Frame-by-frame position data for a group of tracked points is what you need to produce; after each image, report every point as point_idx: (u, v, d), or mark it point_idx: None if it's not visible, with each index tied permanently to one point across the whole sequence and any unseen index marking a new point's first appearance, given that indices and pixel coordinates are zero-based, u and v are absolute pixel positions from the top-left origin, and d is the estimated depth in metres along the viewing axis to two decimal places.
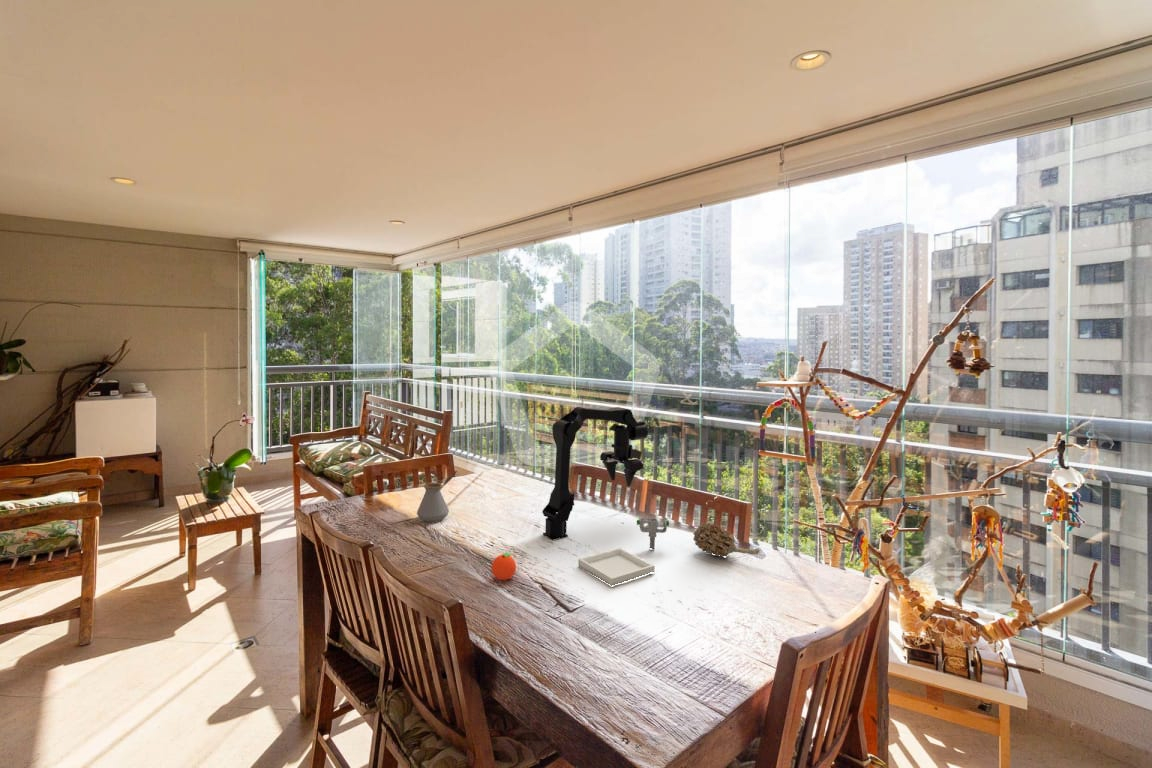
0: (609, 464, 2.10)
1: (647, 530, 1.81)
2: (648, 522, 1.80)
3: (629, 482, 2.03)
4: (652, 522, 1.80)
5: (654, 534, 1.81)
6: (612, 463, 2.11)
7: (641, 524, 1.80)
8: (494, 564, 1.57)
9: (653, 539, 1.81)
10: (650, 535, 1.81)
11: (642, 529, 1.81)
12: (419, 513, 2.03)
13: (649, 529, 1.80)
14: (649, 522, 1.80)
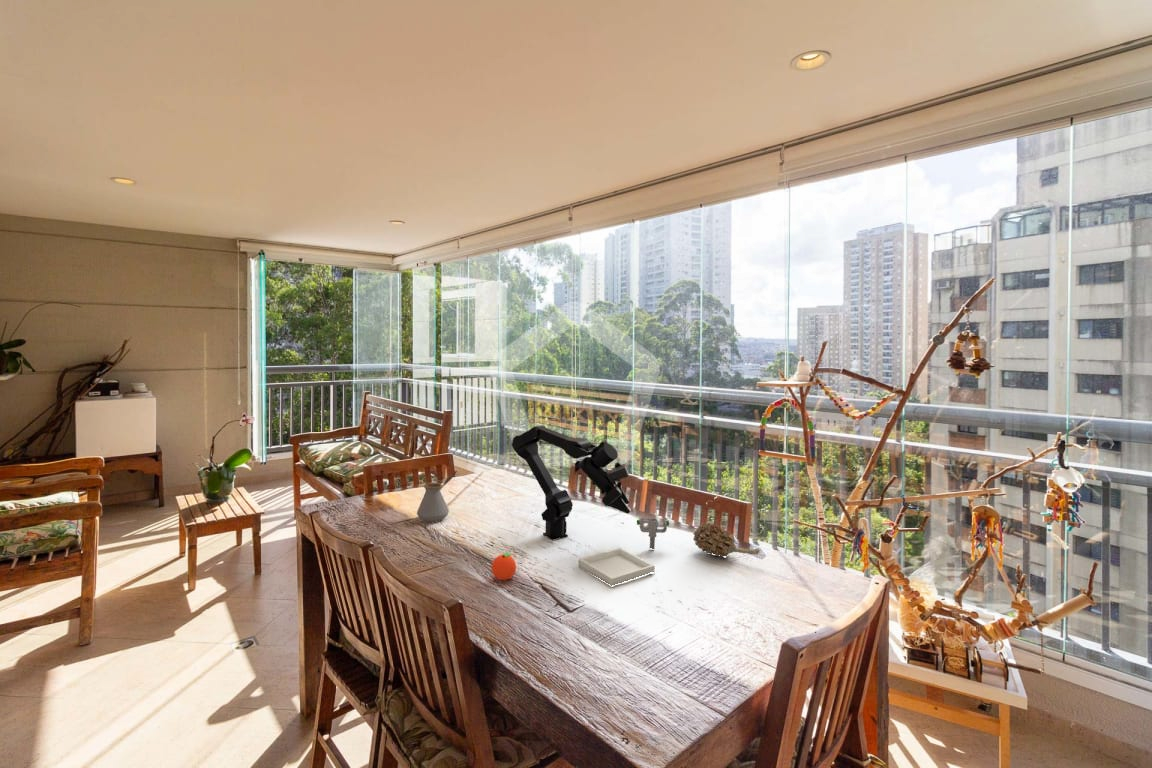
0: None
1: (647, 530, 1.81)
2: (648, 522, 1.80)
3: (625, 510, 1.77)
4: (652, 522, 1.80)
5: (654, 534, 1.81)
6: None
7: (641, 524, 1.80)
8: (494, 564, 1.57)
9: (653, 539, 1.81)
10: (650, 535, 1.81)
11: (642, 529, 1.81)
12: (419, 513, 2.03)
13: (649, 529, 1.80)
14: (649, 522, 1.80)
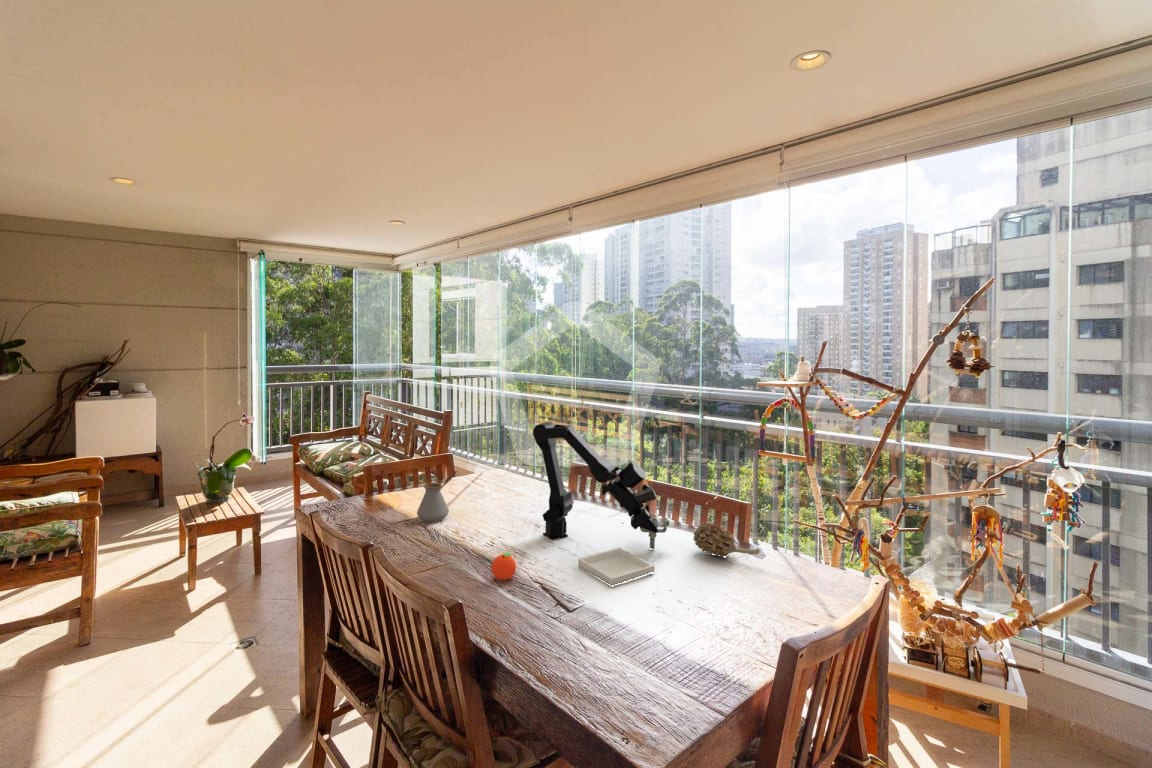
0: None
1: (647, 530, 1.81)
2: None
3: (653, 529, 1.79)
4: None
5: (654, 534, 1.81)
6: None
7: None
8: (494, 564, 1.57)
9: (653, 539, 1.81)
10: (650, 535, 1.81)
11: (642, 529, 1.81)
12: (419, 513, 2.03)
13: None
14: None
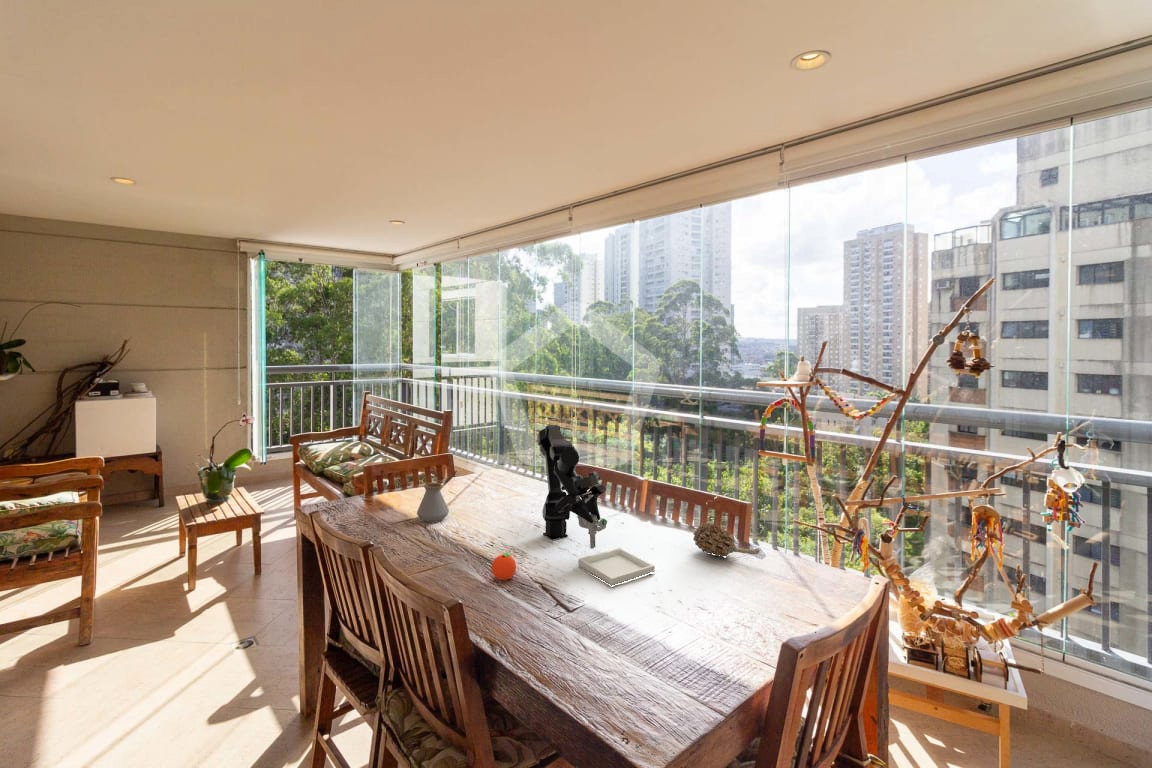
0: (586, 505, 1.75)
1: (584, 526, 1.71)
2: None
3: (588, 518, 1.69)
4: None
5: (591, 531, 1.70)
6: (589, 502, 1.74)
7: (579, 518, 1.72)
8: (494, 564, 1.57)
9: (591, 537, 1.71)
10: (588, 532, 1.71)
11: (580, 524, 1.72)
12: (419, 513, 2.03)
13: (586, 525, 1.71)
14: None
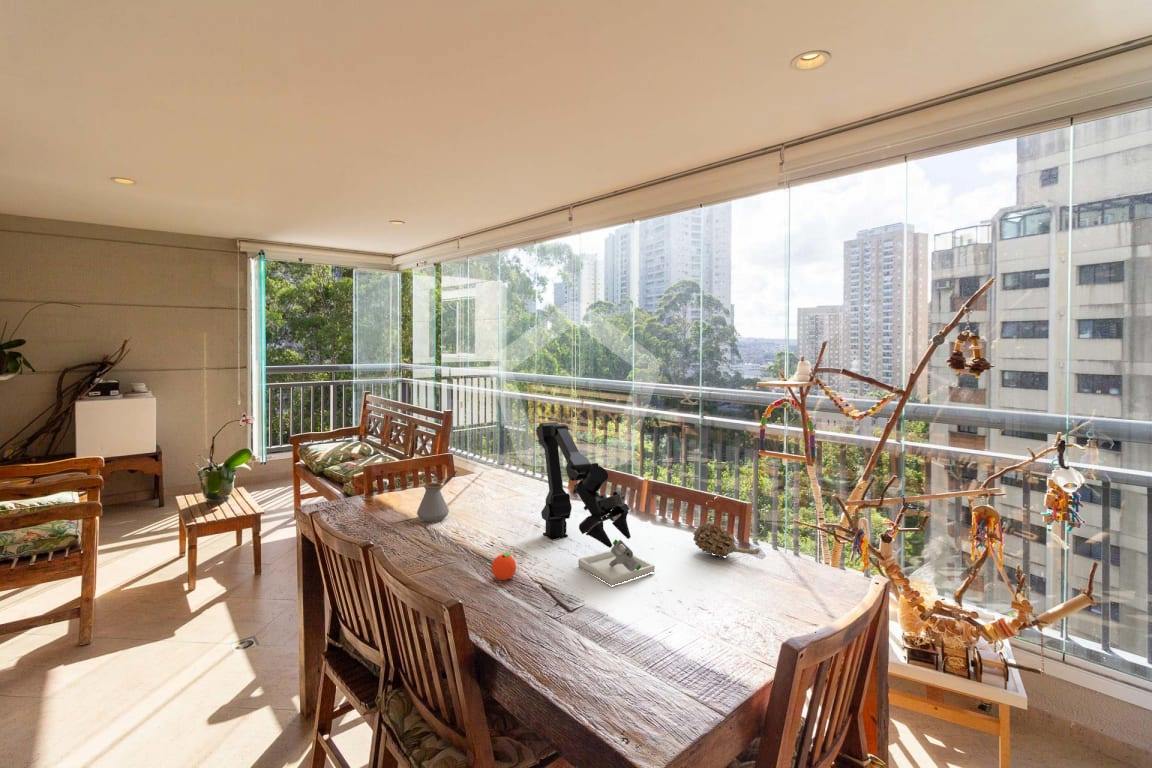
0: (615, 522, 1.71)
1: (616, 555, 1.61)
2: (621, 553, 1.59)
3: (606, 543, 1.61)
4: (624, 556, 1.59)
5: (620, 562, 1.62)
6: (618, 519, 1.71)
7: (614, 548, 1.60)
8: (494, 564, 1.57)
9: (617, 562, 1.64)
10: (616, 559, 1.63)
11: (612, 551, 1.61)
12: (419, 513, 2.03)
13: (618, 556, 1.61)
14: (622, 554, 1.59)
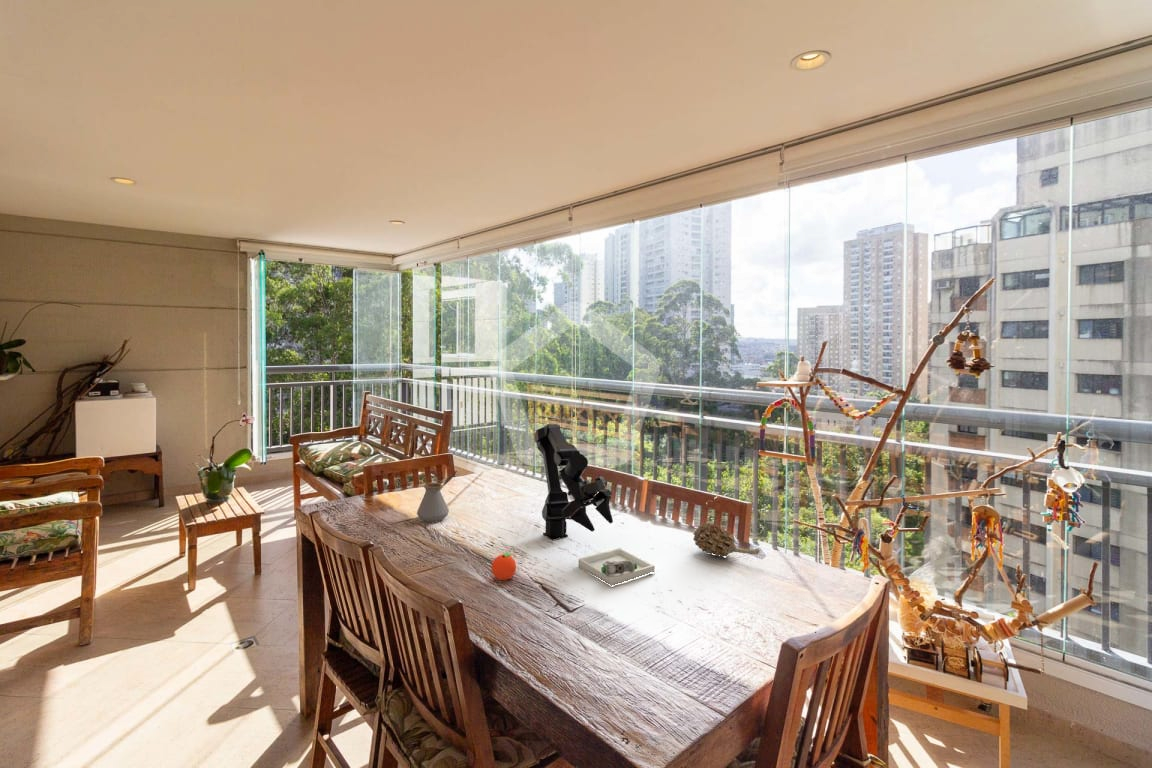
0: (598, 508, 1.75)
1: None
2: None
3: (588, 527, 1.65)
4: (619, 573, 1.57)
5: None
6: (601, 505, 1.75)
7: None
8: (494, 564, 1.57)
9: None
10: None
11: None
12: (419, 513, 2.03)
13: None
14: None
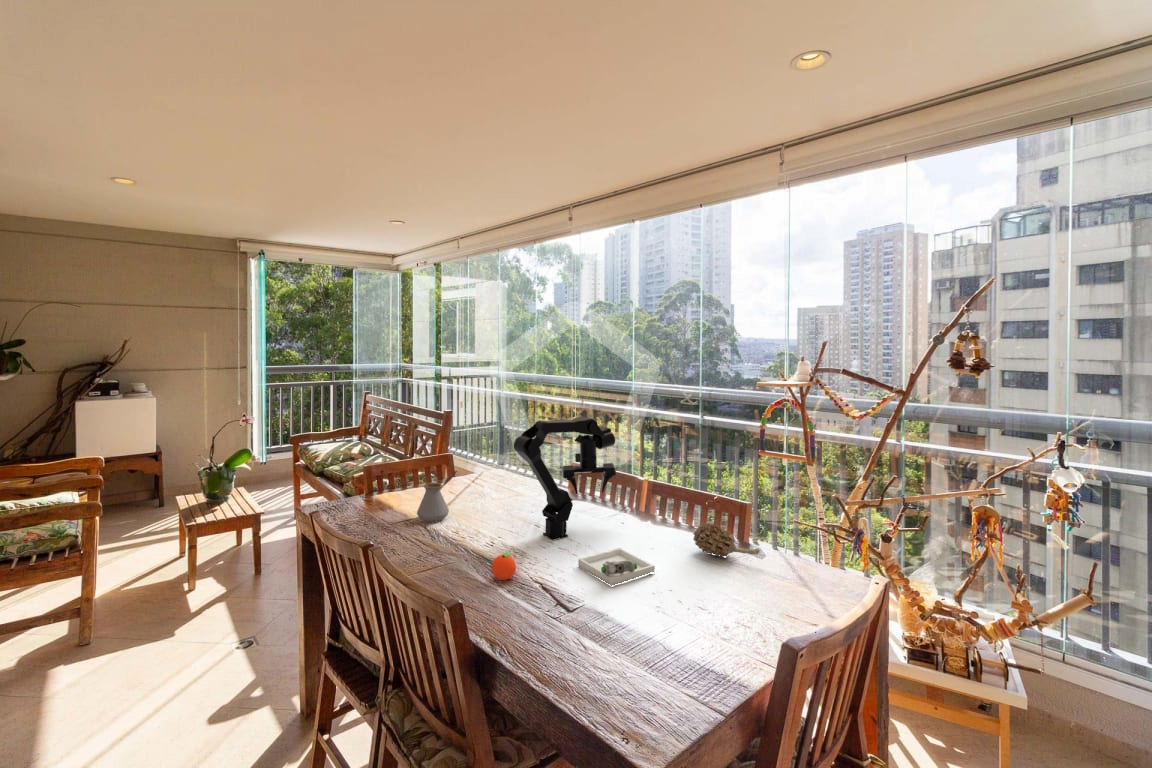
0: None
1: None
2: None
3: None
4: (619, 573, 1.57)
5: None
6: (574, 477, 2.00)
7: None
8: (494, 564, 1.57)
9: None
10: None
11: None
12: (419, 513, 2.03)
13: None
14: None
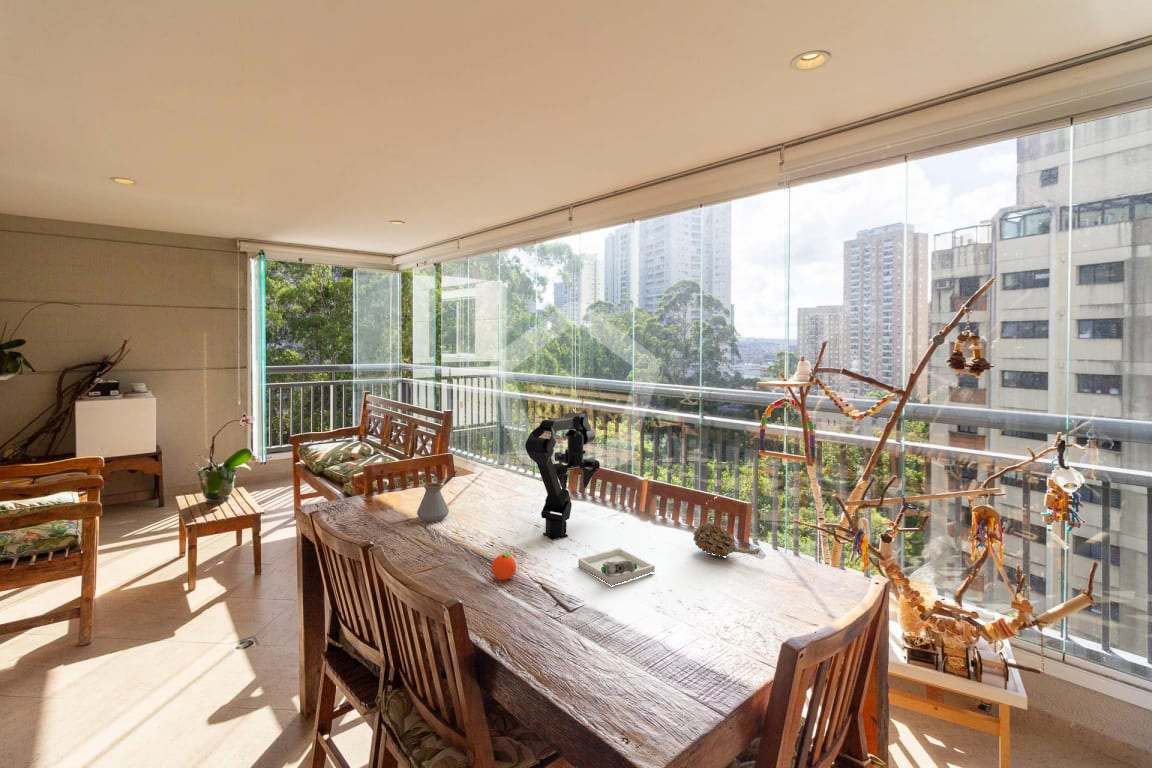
0: None
1: None
2: None
3: None
4: (619, 573, 1.57)
5: None
6: None
7: None
8: (494, 564, 1.57)
9: None
10: None
11: None
12: (419, 513, 2.03)
13: None
14: None
